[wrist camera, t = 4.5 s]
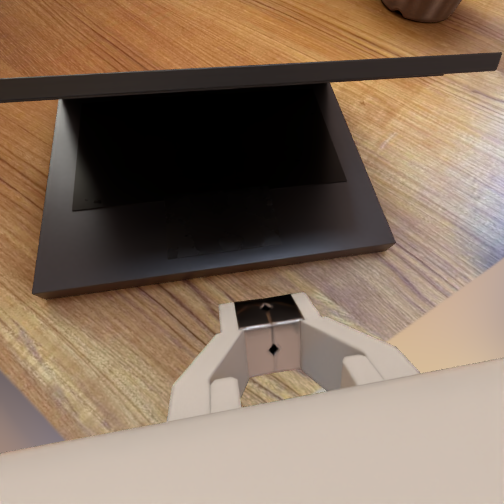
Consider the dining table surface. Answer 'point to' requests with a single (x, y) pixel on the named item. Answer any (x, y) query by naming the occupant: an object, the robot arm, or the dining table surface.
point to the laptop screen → (238, 76)
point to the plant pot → (423, 9)
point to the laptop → (201, 188)
